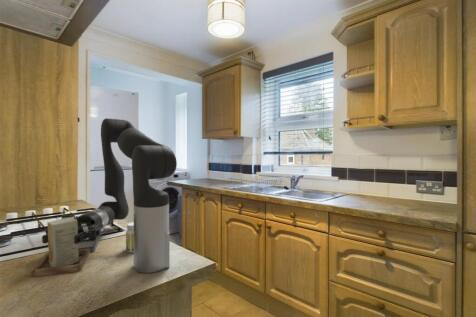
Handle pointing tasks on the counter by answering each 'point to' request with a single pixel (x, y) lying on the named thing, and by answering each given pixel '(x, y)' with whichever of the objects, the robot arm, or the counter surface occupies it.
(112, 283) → the counter surface
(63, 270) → the frame
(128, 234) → the supplement bottle
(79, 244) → the charcoal seat plate
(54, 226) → the skincare box
